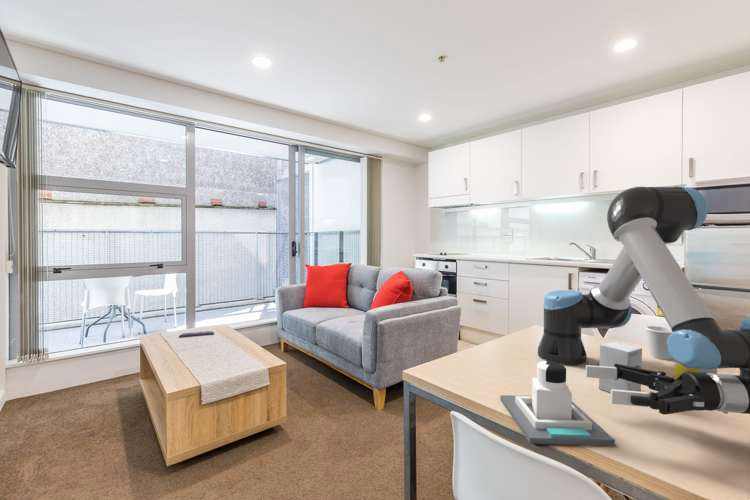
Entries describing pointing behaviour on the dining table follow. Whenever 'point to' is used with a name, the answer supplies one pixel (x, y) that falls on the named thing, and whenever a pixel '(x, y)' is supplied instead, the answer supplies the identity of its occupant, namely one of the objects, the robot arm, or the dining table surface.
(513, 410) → the dock
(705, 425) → the dining table surface
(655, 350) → the dixie cup
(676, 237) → the robot arm
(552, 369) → the medicine bottle
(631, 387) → the supplement box
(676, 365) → the lemon
